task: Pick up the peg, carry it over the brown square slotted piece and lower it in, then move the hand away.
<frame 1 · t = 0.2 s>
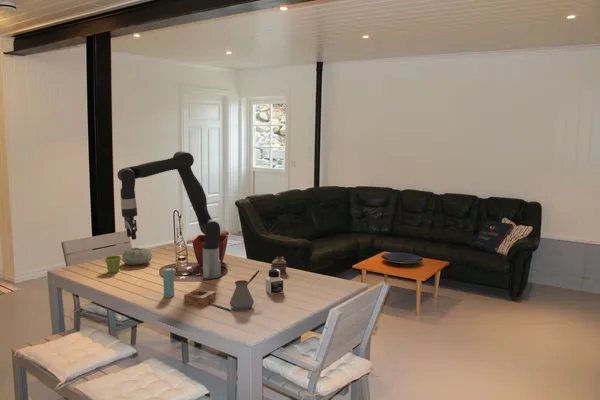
hand: (131, 238, 254), 29 cm above the table, tool pointing down, fingers open, 8 cm apart
plant pot 2: (113, 272, 293), on the table
plant pot: (211, 264, 310), on the table
brown square slotted piece: (200, 301, 244), on the table
cupcake: (278, 273, 292), on the table
coffee pot: (247, 305, 239), on the table
peg: (169, 295, 251), on the table
dark grey rod: (219, 307, 236), on the table
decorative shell: (137, 264, 310), on the table
medicine bottle: (274, 292, 259), on the table
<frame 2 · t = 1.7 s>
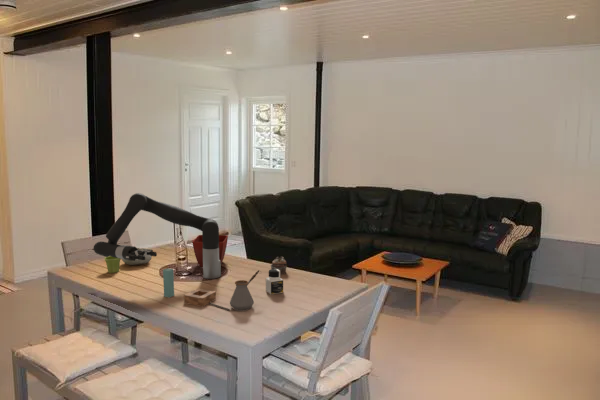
hand: (150, 256, 253), 20 cm above the table, tool horizontal, fingers open, 8 cm apart
nothing on the table moved.
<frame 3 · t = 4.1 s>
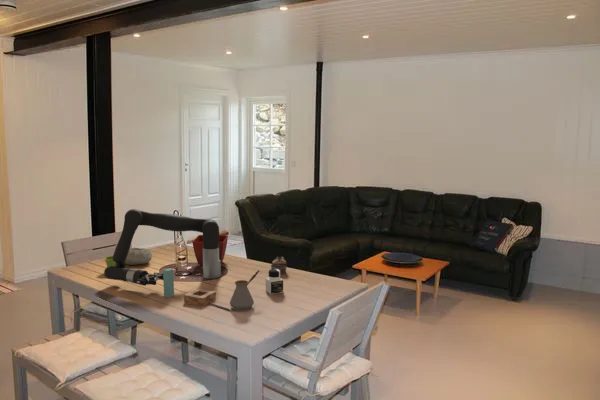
hand: (161, 280, 252), 7 cm above the table, tool horizontal, fingers open, 8 cm apart
nothing on the table moved.
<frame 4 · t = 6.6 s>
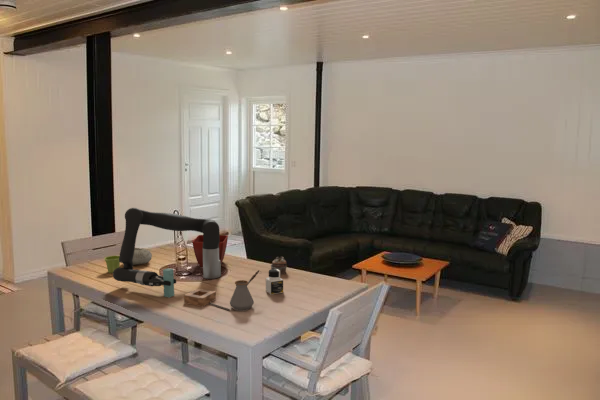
hand: (173, 282, 249), 8 cm above the table, tool horizontal, fingers closed on peg, 3 cm apart
peg: (169, 295, 251), on the table, touching gripper
everything else where it was.
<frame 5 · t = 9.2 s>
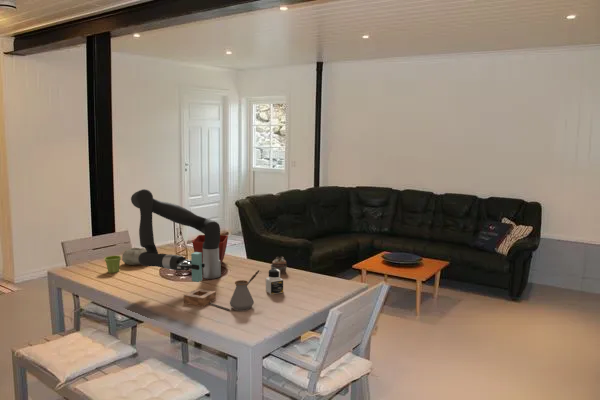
hand: (201, 266, 241), 18 cm above the table, tool horizontal, fingers closed on peg, 3 cm apart
peg: (197, 280, 243), point 10 cm above the table, touching gripper
everything else where it was.
when the fingers open (9 cm above the table, at t = 12.3 s): peg drops 1 cm, resting in brown square slotted piece.
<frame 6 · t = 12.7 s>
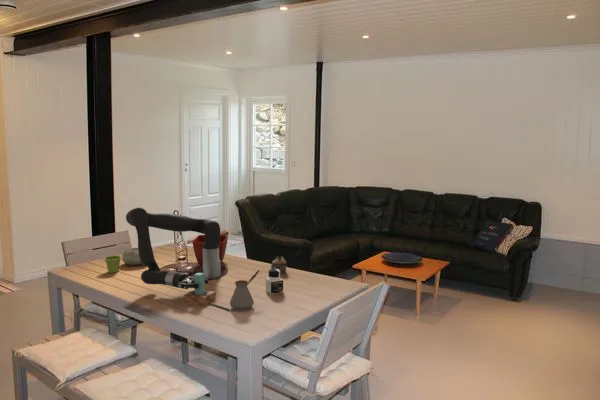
hand: (203, 284, 242), 9 cm above the table, tool horizontal, fingers open, 7 cm apart
peg: (200, 301, 244), resting in brown square slotted piece
everything else where it was.
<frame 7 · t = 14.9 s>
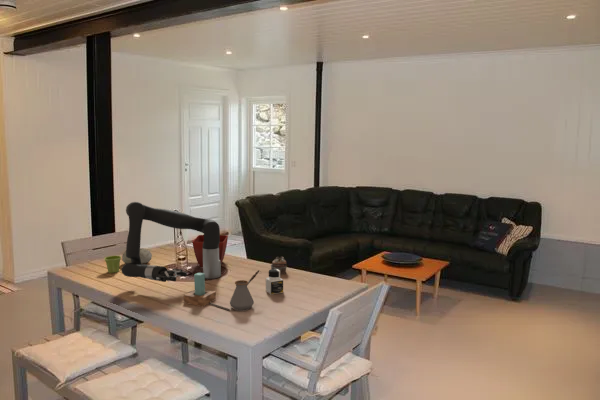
hand: (181, 276, 248), 11 cm above the table, tool horizontal, fingers open, 8 cm apart
nothing on the table moved.
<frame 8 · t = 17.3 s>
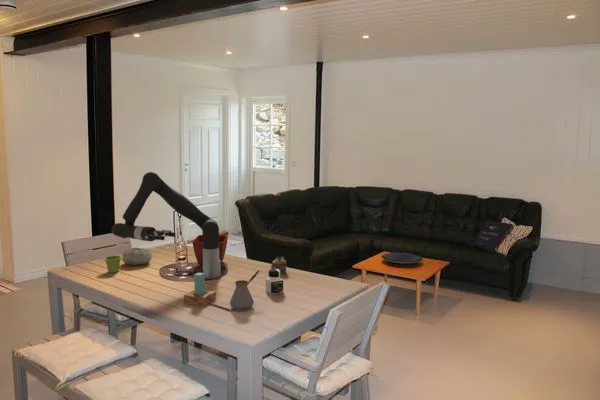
hand: (169, 236, 252), 30 cm above the table, tool horizontal, fingers open, 8 cm apart
nothing on the table moved.
at the end: peg 0.0 cm off-centre on the brown square slotted piece, point 0.0 cm above the brown square slotted piece's base; peg tilted 0°; the gripper is holding nothing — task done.
